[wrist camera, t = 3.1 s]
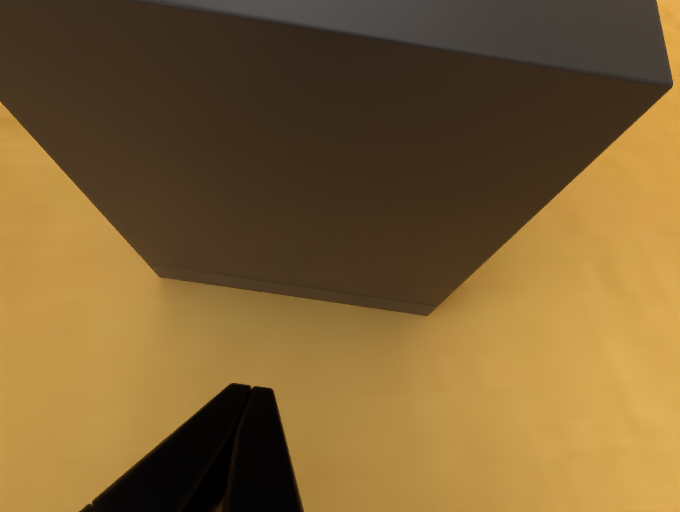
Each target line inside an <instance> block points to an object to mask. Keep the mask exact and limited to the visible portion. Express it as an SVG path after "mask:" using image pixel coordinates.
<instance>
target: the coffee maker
mask: <svg viewBox="0 0 680 512" xmlns="http://www.w3.org/2000/svg"><path fill="white" fill-rule="evenodd" d="M672 86H673V80H672V75H671V70H670V65H669V60H668V55H667V50H666V46H665V41H664V36H663V31H662V26H661V21H660V16H659V11H658V6H657V1H656V0H0V102H1V103H2V104H3V105H4V106H5V107H6V108H7V109H8V110H9V111H10V113H11V114H12V115H13V116H14V117H15V118H16V119H17V120H18V121H19V123H20V124H21V125H22V126H23V127H24V128H25V129H26V130H27V131H28V132H29V134H30V135H31V136H32V137H33V138H34V139H35V140H36V141H37V142H38V143H39V145H40V146H41V147H42V148H43V149H44V150H45V151H46V152H47V153H48V155H49V156H50V157H51V158H52V159H53V160H54V161H55V162H56V163H57V164H58V166H59V167H60V168H61V169H62V170H63V171H64V172H65V173H66V174H67V175H68V177H69V178H70V179H71V180H72V181H73V182H74V183H75V184H76V185H77V187H78V188H79V189H80V190H81V191H82V192H83V193H84V194H85V195H86V196H87V198H88V199H89V200H90V201H91V202H92V203H93V204H94V205H95V206H96V207H97V209H98V210H99V211H100V212H101V213H102V214H103V215H104V216H105V217H106V219H107V220H108V221H109V222H110V223H111V224H112V225H113V226H114V227H115V228H116V230H117V231H118V232H119V233H120V234H121V235H122V236H123V237H124V238H125V239H126V241H127V242H128V243H129V244H130V245H131V246H132V247H133V248H134V249H135V251H136V252H137V253H138V254H139V255H140V256H141V257H142V258H143V259H144V260H145V262H146V263H148V265H149V266H150V267H151V268H152V269H153V270H154V272H155V273H156V274H157V275H158V276H159V277H164V278H171V279H178V280H185V281H192V282H199V283H206V284H212V285H219V286H226V287H233V288H240V289H247V290H254V291H261V292H268V293H274V294H281V295H288V296H295V297H302V298H309V299H316V300H323V301H330V302H336V303H343V304H350V305H357V306H364V307H371V308H378V309H385V310H392V311H398V312H405V313H412V314H419V315H426V316H427V315H429V314H430V313H431V312H432V311H433V310H434V309H435V308H436V307H437V306H438V305H440V304H441V303H442V302H443V301H444V300H445V299H446V298H447V297H448V296H449V295H450V294H451V293H452V292H453V291H455V290H456V289H457V288H458V287H459V286H460V285H461V284H462V283H463V282H464V281H465V280H466V279H467V278H468V277H470V276H471V275H472V274H473V273H474V272H475V271H476V270H477V269H478V268H479V267H480V266H481V265H482V264H483V263H485V262H486V261H487V260H488V259H489V258H490V257H491V256H492V255H493V254H494V253H495V252H496V251H497V250H498V249H500V248H501V247H502V246H503V245H504V244H505V243H506V242H507V241H508V240H509V239H510V238H511V237H512V236H513V235H515V234H516V233H517V232H518V231H519V230H520V229H521V228H522V227H523V226H524V225H525V224H526V223H527V222H528V221H529V220H531V219H532V218H533V217H534V216H535V215H536V214H537V213H538V212H539V211H540V210H541V209H542V208H543V207H544V206H546V205H547V204H548V203H549V202H550V201H551V200H552V199H553V198H554V197H555V196H556V195H557V194H558V193H559V192H561V191H562V190H563V189H564V188H565V187H566V186H567V185H568V184H569V183H570V182H571V181H572V180H573V179H574V178H576V177H577V176H578V175H579V174H580V173H581V172H582V171H583V170H584V169H585V168H586V167H587V166H588V165H589V164H591V163H592V162H593V161H594V160H595V159H596V158H597V157H598V156H599V155H600V154H601V153H602V152H603V151H604V150H606V149H607V148H608V147H609V146H610V145H611V144H612V143H613V142H614V141H615V140H616V139H617V138H618V137H619V136H621V135H622V134H623V133H624V132H625V131H626V130H627V129H628V128H629V127H630V126H631V125H632V124H633V123H634V122H636V121H637V120H638V119H639V118H640V117H641V116H642V115H643V114H644V113H645V112H646V111H647V110H648V109H649V108H651V107H652V106H653V105H654V104H655V103H656V102H657V101H658V100H659V99H660V98H661V97H662V96H663V95H664V94H665V93H667V92H668V91H669V90H670V89H671V88H672Z"/></svg>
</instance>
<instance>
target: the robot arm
mask: <svg viewBox="0 0 680 512" xmlns="http://www.w3.org/2000/svg"><path fill="white" fill-rule="evenodd" d="M79 512H304V510H303V506H302V502H301V498H300V494H299V490H298V486H297V482H296V478H295V474H294V470H293V466H292V462H291V458H290V454H289V450H288V446H287V442H286V438H285V434H284V430H283V426H282V422H281V418H280V414H279V410H278V406H277V402H276V398H275V394H274V391H273V389H271V388H266V387H259V386H254V387H253V388H251V386H250V385H245V384H238V383H232V384H229V385H228V386H227V387H226V388H225V389H223V390H222V391H221V392H220V393H219V394H218V395H216V396H215V397H214V398H213V399H212V400H210V401H209V402H208V403H207V404H206V405H205V406H203V407H202V408H201V409H200V410H199V411H198V412H196V413H195V414H194V415H193V416H192V417H190V418H189V419H188V420H187V421H186V422H185V423H183V424H182V425H181V426H180V427H179V428H177V429H176V430H175V431H174V432H173V433H172V434H170V435H169V436H168V437H167V438H166V439H165V440H163V441H162V442H161V443H160V444H159V445H157V446H156V447H155V448H154V449H153V450H152V451H150V452H149V453H148V454H147V455H146V456H145V457H143V458H142V459H141V460H140V461H139V462H137V463H136V464H135V465H134V466H133V467H132V468H130V469H129V470H128V471H127V472H126V473H124V474H123V475H122V476H121V477H120V478H119V479H117V480H116V481H115V482H114V483H113V484H112V485H110V486H109V487H108V488H107V489H106V490H104V491H103V492H102V493H101V494H100V495H99V496H97V497H96V498H95V499H94V500H93V501H92V504H88V505H86V506H85V507H84V508H83V509H82V510H81V511H79Z"/></svg>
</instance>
